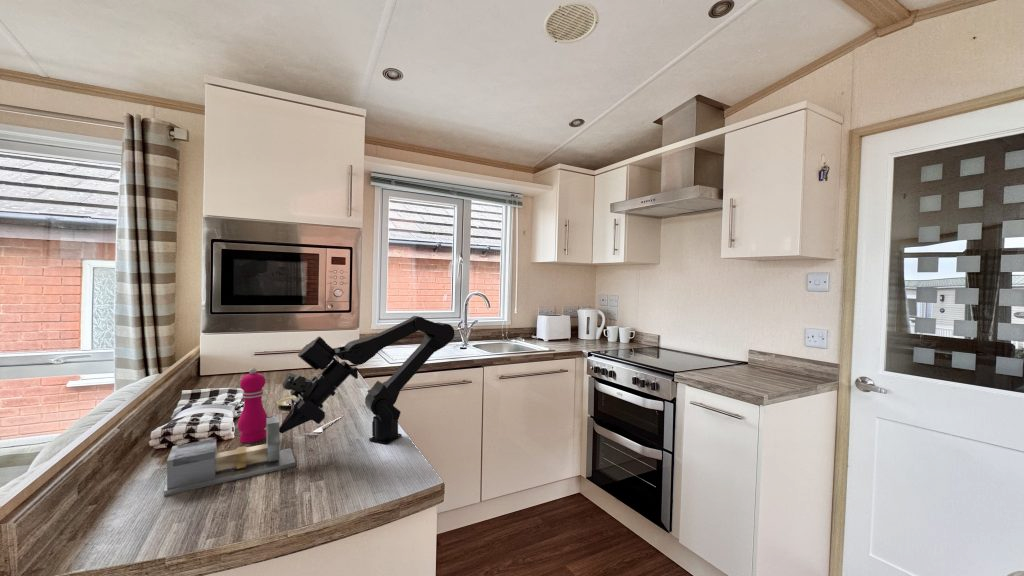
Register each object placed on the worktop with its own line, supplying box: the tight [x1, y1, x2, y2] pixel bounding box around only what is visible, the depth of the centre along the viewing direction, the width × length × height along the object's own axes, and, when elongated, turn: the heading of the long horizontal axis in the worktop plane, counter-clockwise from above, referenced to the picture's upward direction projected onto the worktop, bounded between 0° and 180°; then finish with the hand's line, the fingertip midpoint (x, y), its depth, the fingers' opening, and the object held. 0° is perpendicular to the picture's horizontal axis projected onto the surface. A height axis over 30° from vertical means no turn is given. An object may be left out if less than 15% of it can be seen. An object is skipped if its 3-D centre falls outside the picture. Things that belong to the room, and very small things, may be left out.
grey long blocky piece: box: [163, 438, 297, 497], centre depth 94 cm, size 24×10×7 cm, turn 124°
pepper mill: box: [237, 367, 269, 444], centre depth 113 cm, size 7×7×20 cm
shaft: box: [215, 416, 281, 471], centre depth 94 cm, size 15×5×9 cm, turn 124°
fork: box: [303, 416, 342, 436], centre depth 124 cm, size 3×20×2 cm, turn 173°
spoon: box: [276, 394, 297, 407], centre depth 155 cm, size 35×11×2 cm, turn 20°
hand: (279, 432), depth 99 cm, fingers closed, pressing on shaft
